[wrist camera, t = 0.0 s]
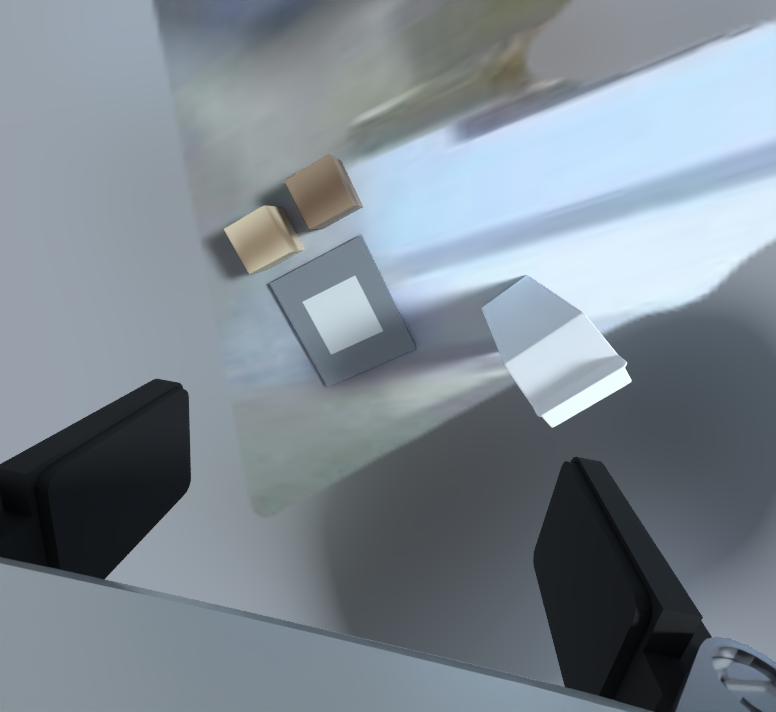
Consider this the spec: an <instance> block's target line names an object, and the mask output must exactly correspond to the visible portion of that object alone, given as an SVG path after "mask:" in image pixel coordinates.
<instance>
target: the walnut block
mask: <svg viewBox="0 0 776 712" xmlns="http://www.w3.org/2000/svg"><path fill="white" fill-rule="evenodd" d="M284 181H285V183H286V185H287V187H288V189H289V191H290V193H291V195H292V197H293V199H294V201H295V203H296V205H297V206H298V208H299V210H300V212H301V214H302V216H303V218H304V220H305V222H306V224H307V226H308V228H309V230H311V229H324V228H325V227H327V226H329V225H331V224H333V223H335V222H336V221H338V220H340V219H342V218H344V217H346V216H347V215H349V214H351V213H353V212H355V211H356V210H358V209H360V208H362V207H363V206H362V203H361V201H360V199H359V197H358V195H357V193H356V191H355V189H354V187H353V185H352V183H351V181H350V178H349V176H348V174H347V172H346V170H345V168H344V166H343V164H342V162H341V161H340V160H338V159H337V158H335V157H333V156H331V155H330V154H328V155H326V156H324V157H323V158H321V159H319V160H318V161H316V162H314V163H313V164H311V165H309V166H308V167H306V168H304V169H303V170H301V171H299V172H298V173H296V174H294V175H293V176H291V177H289V178H288V179H286V180H284Z"/></svg>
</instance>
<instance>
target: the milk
mask: <svg viewBox="0 0 776 712" xmlns="http://www.w3.org/2000/svg"><path fill="white" fill-rule="evenodd" d="M481 309H482V312H483V314H484V317H485V319H486V322H487V324H488V327H489V329H490V331H491V334H492V336H493V339H494V341H495V344H496V346H497V349H498V351H499V353H500V356H501V358H502V361H503V363H504V366H505V367H506V369H507V370H508V372H509V373H510V374H511V376H512V377H513V379H514V380H515V382H516V383H517V385H518V386H519V387H520V389H521V390H522V392H523V393H524V395H525V396H526V398H527V399H528V400H529V402H530V403H531V405H532V406H533V408H534V410H535V412H536V414H537V416H540V417H541V416H542V417H543V418H544V420H545V421H546V422H547V423H548V424H549V425H550V426H551V427H555V426H557V425H558V424H560V423H562V422H563V421H565V420H567V419H569V418H570V417H572V416H574V415H576V414H577V413H579V412H581V411H582V410H584V409H586V408H588V407H589V406H591V405H593V404H594V403H596V402H598V401H600V400H601V399H603V398H605V397H607V396H608V395H610V394H612V393H613V392H615V391H617V390H618V389H620V388H622V387H624V386H625V385H627V384H629V383H630V382H631V379H630V377H629V375H628V373H627V371H626V369H625V366H626V365H627V362H626V361H625V360H624V359H623V358H621V357H620V356H619V355H618V354H617V353H616V352H615V351H614V349H613V348H612V347H611V346H610V344H609V343H608V342H607V341H606V339H605V338H604V337H603V336H602V334H601V333H600V332H599V331H598V330H597V328H596V327H595V326H594V325H593V323H592V322H591V321H590V320H589V318H588V317H587V316H586V315H585V314H584V313H583V312H582V311H580V310H579V309H577V308H576V307H574V306H573V305H571V304H570V303H568V302H567V301H566V300H564V299H563V298H561V297H560V296H558V295H557V294H555V293H554V292H552V291H551V290H549V289H548V288H546V287H545V286H543V285H542V284H540V283H539V282H537V281H536V280H534V279H533V278H531V277H530V276H528V275H526V276H525V277H523V278H522V279H520V280H519V281H518V282H516V283H515V284H514V285H512V286H511V287H509V288H508V289H507V290H505V291H504V292H502V293H501V294H500V295H498V296H497V297H496V298H494V299H493V300H491V301H490V302H489V303H487V304H486V305H484V306H483V307H482V308H481Z"/></svg>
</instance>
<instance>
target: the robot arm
mask: <svg viewBox="0 0 776 712" xmlns="http://www.w3.org/2000/svg"><path fill="white" fill-rule="evenodd" d="M190 481H191V468H190V430H189V396H188V392H187V391H186V390H184V389H183V387H182V385H181V384H180V383H177V382H172V381H166V380H161V379H154V380H152V381H150V382H148V383H147V384H145V385H143V386H141V387H140V388H138V389H136V390H134V391H132V392H130V393H129V394H127V395H125V396H123V397H121V398H119V399H118V400H116V401H114V402H112V403H110V404H109V405H107V406H105V407H103V408H101V409H100V410H98V411H96V412H94V413H92V414H91V415H89V416H87V417H85V418H83V419H81V420H80V421H78V422H76V423H74V424H72V425H70V426H69V427H67V428H65V429H63V430H61V431H60V432H58V433H56V434H54V435H52V436H51V437H49V438H47V439H45V440H43V441H42V442H40V443H38V444H36V445H35V446H32V447H31V448H29V449H27V450H25V451H23V452H22V453H20V454H18V455H16V456H14V457H12V458H11V459H9V460H7V461H5V462H4V463H2V464H0V712H776V662H774V661H773V660H772V659H770V658H769V657H767V656H766V655H764V654H763V653H761V652H759V651H757V650H756V649H754V648H752V647H750V646H748V645H746V644H744V643H741V642H738V641H736V640H733V639H730V638H723V637H711V635H710V634H709V632H708V631H707V629H706V627H705V626H704V624H703V623H702V621H701V620H702V618H703V617H702V615H701V614H700V612H699V611H698V609H697V608H696V606H695V605H694V603H693V602H692V600H691V598H690V597H689V596H688V594H687V593H686V591H685V589H684V588H683V586H682V585H681V583H680V581H679V580H678V578H677V577H676V575H675V574H674V572H673V571H672V569H671V568H670V566H669V564H668V563H667V561H666V560H665V558H664V557H663V555H662V554H661V552H660V551H659V549H658V548H657V546H656V544H655V543H654V542H653V540H652V538H651V537H650V535H649V534H648V532H647V531H646V529H645V527H644V526H643V525H642V523H641V521H640V520H639V518H638V517H637V515H636V514H635V512H634V510H633V509H632V507H631V506H630V504H629V503H628V501H627V500H626V498H625V497H624V495H623V494H622V492H621V491H620V489H619V487H618V486H617V484H616V483H615V481H614V480H613V478H612V477H611V475H610V473H609V472H608V470H607V469H606V467H605V466H604V464H603V463H602V462H600V461H595V460H590V459H584V458H579V457H574V458H573V459H572V460H571V462H567V461H566V462H564V463H563V465H562V467H561V470H560V473H559V476H558V480H557V483H556V486H555V489H554V492H553V495H552V498H551V501H550V504H549V507H548V510H547V513H546V517H545V519H544V522H543V526H542V529H541V532H540V535H539V538H538V541H537V544H536V547H535V550H534V560H533V561H534V568H535V572H536V576H537V580H538V584H539V588H540V592H541V596H542V599H543V604H544V607H545V611H546V615H547V619H548V623H549V627H550V630H551V635H552V639H553V642H554V646H555V650H556V654H557V658H558V662H559V666H560V670H561V674H562V678H563V681H564V685H565V687H562V686H558V685H554V684H550V683H546V682H542V681H538V680H534V679H530V678H526V677H522V676H519V675H515V674H511V673H506V672H503V671H498V670H494V669H490V668H486V667H482V666H477V665H473V664H469V663H464V662H460V661H456V660H452V659H447V658H444V657H439V656H435V655H430V654H427V653H422V652H418V651H414V650H410V649H405V648H401V647H397V646H393V645H389V644H384V643H380V642H376V641H372V640H367V639H363V638H359V637H355V636H350V635H346V634H342V633H337V632H333V631H329V630H324V629H320V628H316V627H311V626H307V625H303V624H298V623H294V622H290V621H285V620H281V619H277V618H272V617H268V616H263V615H259V614H255V613H251V612H246V611H241V610H237V609H233V608H229V607H224V606H220V605H216V604H211V603H207V602H202V601H198V600H194V599H189V598H185V597H180V596H176V595H171V594H167V593H162V592H157V591H153V590H148V589H144V588H140V587H136V586H131V585H127V584H122V583H117V582H113V581H108V580H104V579H105V578H106V577H107V576H108V575H109V574H110V573H111V572H112V571H113V570H114V569H115V568H116V566H117V565H118V564H119V563H120V562H121V561H122V560H123V559H124V558H125V557H126V556H127V554H129V553H130V552H131V551H132V550H133V548H134V547H135V546H136V545H137V544H138V543H139V542H140V541H141V540H142V539H143V538H144V537H145V536H146V535H147V534H148V533H149V531H150V530H151V529H152V528H153V527H154V526H155V525H156V524H157V523H158V522H159V521H160V520H161V519H162V518H163V517H164V516H165V514H167V512H168V511H169V510H170V509H171V508H172V507H173V506H174V505H175V504H176V503H177V502H178V501H179V500H180V499H181V498H182V497H183V495H184V494H185V493H186V492H187V490H188V488H189V485H190Z"/></svg>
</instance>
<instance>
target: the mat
mask: <svg viewBox="0 0 776 712" xmlns="http://www.w3.org/2000/svg"><path fill="white" fill-rule="evenodd" d="M269 284H270V286H271V287H272V289H273V291H274V293H275V295H276V296H277V298H278V300H279V302H280V304H281V305H282V307H283V309H284V311H285V312H286V314H287V316H288V318H289V320H290V321H291V323H292V325H293V327H294V329H295V330H296V332H297V334H298V336H299V337H300V339H301V341H302V343H303V345H304V346H305V348H306V350H307V352H308V354H309V355H310V357H311V359H312V361H313V363H314V364H315V366H316V368H317V370H318V371H319V373H320V375H321V377H322V379H323V380H324V382H325V384H326V386H327V387H329V386H332V385H334V384H336V383H339V382H341V381H343V380H345V379H348V378H350V377H352V376H355V375H357V374H359V373H362V372H364V371H366V370H369V369H371V368H373V367H376V366H378V365H380V364H383V363H385V362H387V361H389V360H392V359H394V358H396V357H399V356H401V355H403V354H406V353H408V352H410V351H413V350H415V349H416V346H415V344H414V342H413V340H412V338H411V336H410V334H409V332H408V329H407V327H406V325H405V323H404V321H403V319H402V317H401V315H400V313H399V311H398V309H397V307H396V305H395V303H394V301H393V299H392V297H391V295H390V293H389V291H388V289H387V286H386V284H385V282H384V280H383V278H382V276H381V274H380V272H379V270H378V268H377V266H376V264H375V262H374V260H373V258H372V256H371V254H370V252H369V250H368V248H367V246H366V244H365V241H364V239H363V237H362V235H360V236H358V237H357V238H355V239H353V240H351V241H349V242H347V243H345V244H343V245H341V246H340V247H338V248H336V249H334V250H332V251H330V252H328V253H326V254H324V255H323V256H321V257H319V258H317V259H315V260H313V261H311V262H309V263H307V264H305V265H304V266H302V267H300V268H298V269H296V270H294V271H292V272H290V273H288V274H287V275H285V276H283V277H281V278H279V279H277V280H275V281H273V282H271V283H269Z"/></svg>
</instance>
